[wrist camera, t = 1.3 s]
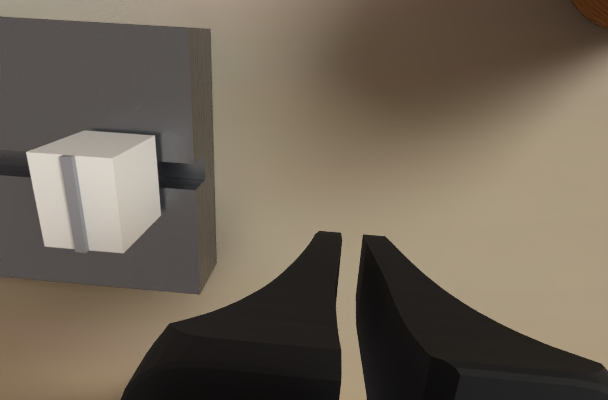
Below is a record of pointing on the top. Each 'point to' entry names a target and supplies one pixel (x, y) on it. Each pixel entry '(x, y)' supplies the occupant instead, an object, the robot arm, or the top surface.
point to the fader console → (118, 119)
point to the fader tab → (95, 190)
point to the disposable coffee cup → (594, 10)
